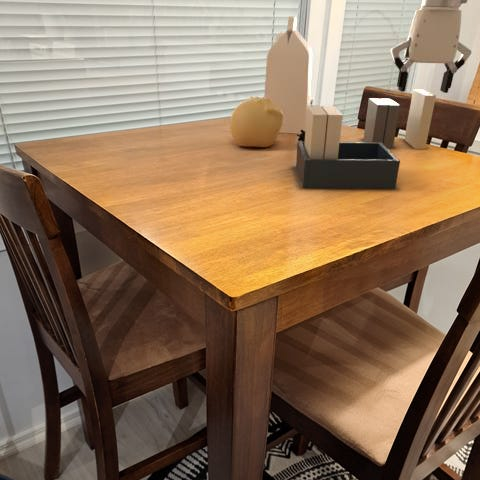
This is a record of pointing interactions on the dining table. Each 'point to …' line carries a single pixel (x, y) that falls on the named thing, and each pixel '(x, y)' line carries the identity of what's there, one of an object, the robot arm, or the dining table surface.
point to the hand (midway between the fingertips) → (422, 91)
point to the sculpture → (256, 122)
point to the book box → (350, 167)
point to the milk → (290, 77)
